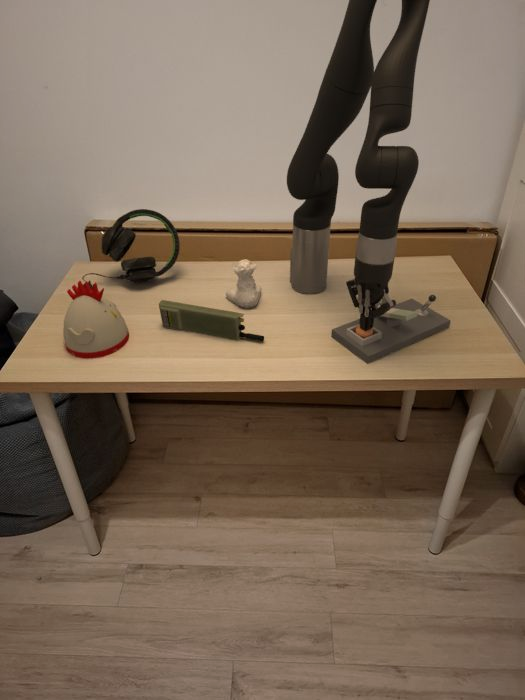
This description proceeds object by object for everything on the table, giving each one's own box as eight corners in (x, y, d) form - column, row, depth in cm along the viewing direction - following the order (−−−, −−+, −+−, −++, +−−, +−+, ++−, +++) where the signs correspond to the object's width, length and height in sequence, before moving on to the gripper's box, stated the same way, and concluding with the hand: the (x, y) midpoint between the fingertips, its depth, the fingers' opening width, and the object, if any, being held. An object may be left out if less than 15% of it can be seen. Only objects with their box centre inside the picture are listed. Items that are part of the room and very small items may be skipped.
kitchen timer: (114, 361, 103) (99, 300, 94) (54, 356, 105) (34, 295, 96) (137, 325, 114) (126, 268, 105) (83, 321, 116) (67, 264, 107)
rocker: (374, 314, 111) (373, 310, 111) (384, 310, 113) (384, 306, 112) (406, 320, 103) (406, 316, 102) (417, 316, 104) (416, 311, 104)
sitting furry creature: (260, 291, 126) (259, 248, 119) (269, 307, 120) (269, 263, 113) (225, 296, 125) (222, 253, 117) (232, 313, 118) (229, 268, 111)
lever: (417, 309, 113) (429, 294, 108) (422, 307, 113) (434, 292, 109) (421, 314, 112) (433, 299, 107) (426, 312, 113) (438, 297, 108)
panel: (331, 336, 109) (332, 323, 107) (410, 305, 119) (412, 292, 117) (367, 363, 101) (369, 350, 99) (448, 327, 111) (452, 314, 109)
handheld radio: (167, 321, 116) (266, 339, 109) (161, 329, 113) (261, 347, 107) (163, 297, 112) (265, 314, 105) (156, 305, 109) (260, 323, 102)
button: (351, 334, 106) (352, 327, 105) (364, 329, 107) (365, 322, 106) (362, 342, 103) (363, 335, 102) (375, 337, 105) (376, 329, 104)
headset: (109, 313, 135) (193, 252, 135) (100, 319, 121) (192, 251, 121) (66, 261, 131) (152, 197, 131) (52, 261, 117) (147, 190, 117)
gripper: (414, 262, 91) (400, 337, 101) (366, 238, 100) (358, 310, 110) (384, 272, 88) (373, 349, 98) (338, 247, 97) (332, 320, 107)
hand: (365, 328), depth 104 cm, fingers closed
